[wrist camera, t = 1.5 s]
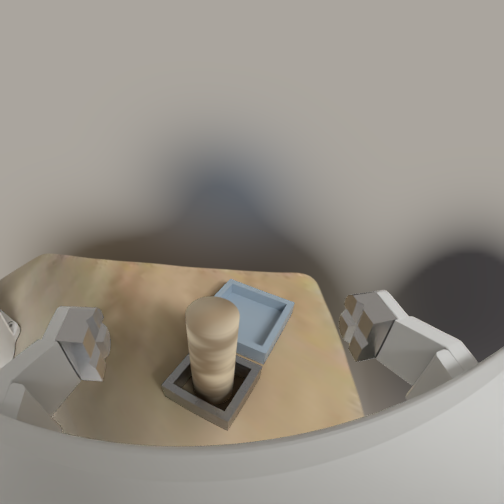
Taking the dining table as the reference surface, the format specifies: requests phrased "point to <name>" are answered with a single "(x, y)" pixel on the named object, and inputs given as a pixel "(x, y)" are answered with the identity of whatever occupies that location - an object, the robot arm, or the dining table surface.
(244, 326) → the tray
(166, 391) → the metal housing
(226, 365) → the peg
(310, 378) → the dining table surface
